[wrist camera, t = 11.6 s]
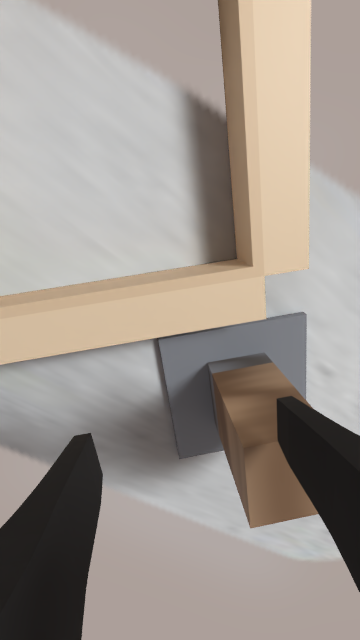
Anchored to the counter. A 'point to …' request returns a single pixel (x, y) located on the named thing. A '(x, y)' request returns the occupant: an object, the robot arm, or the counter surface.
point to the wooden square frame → (248, 206)
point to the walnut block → (256, 437)
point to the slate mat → (219, 344)
